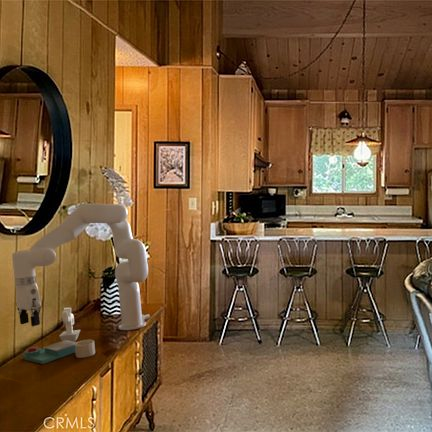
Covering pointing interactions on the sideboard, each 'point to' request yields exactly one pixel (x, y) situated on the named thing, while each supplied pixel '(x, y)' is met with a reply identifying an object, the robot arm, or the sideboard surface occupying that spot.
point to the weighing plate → (61, 348)
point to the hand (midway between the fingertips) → (30, 324)
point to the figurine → (69, 326)
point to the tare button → (32, 349)
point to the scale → (39, 356)
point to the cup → (84, 348)
